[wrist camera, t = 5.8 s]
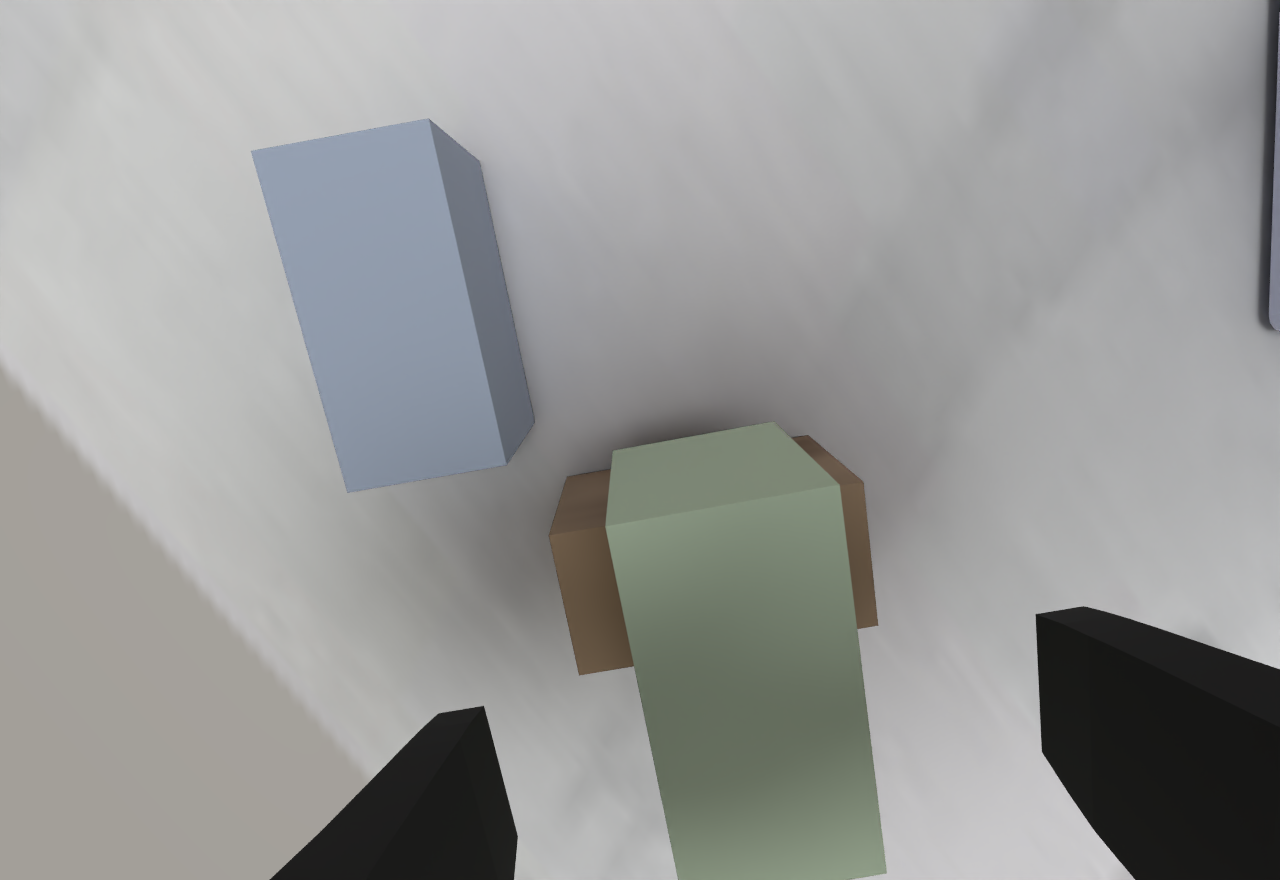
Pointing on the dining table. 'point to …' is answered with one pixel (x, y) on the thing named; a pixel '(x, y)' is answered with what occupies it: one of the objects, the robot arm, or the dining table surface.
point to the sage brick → (747, 655)
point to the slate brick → (399, 301)
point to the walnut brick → (593, 575)
